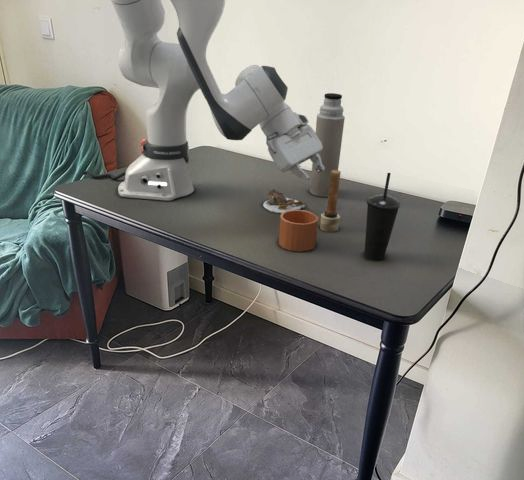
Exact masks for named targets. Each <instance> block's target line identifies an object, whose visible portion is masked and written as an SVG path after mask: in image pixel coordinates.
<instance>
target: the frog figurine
mask: <svg viewBox="0 0 524 480" xmlns="http://www.w3.org/2000/svg"><path fill="white" fill-rule="evenodd" d="M266 193H267V194H266V196H268V197H271V198H270V199H267V200H265V201H264V202H263V203H262V206H263V208H265V209H266V210H268V211H270V212H271V213H275V214H282V213H283V212H285V211H289V210H302V209H304V208H306V204H305V202H304V201H303V200H297V199H294V198H290V197H286V196H285V194H284V193H283V192H280V191H276V189H275V188H272V189H271V190H270V189H269V190H267V191H266Z"/></svg>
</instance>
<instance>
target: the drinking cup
mask: <svg viewBox="0 0 524 480" xmlns="http://www.w3.org/2000/svg"><path fill="white" fill-rule="evenodd" d="M386 174H387V175H386V180H385V184H384V185H385V186H384V191H383V194H376V195H372V196H369V197H368V198H367V199H366V204H367V207H366V208H367V210H366V225H365V238H364V253H363V255H364V256H363V257H365V258H366V259H367V260H371V261H382V260H384V259H385V255H386V253H387V249H388V247H389V242H390V239H391V235H392V232H393V229H394V226H395V222H396V219H397V215H398V211H399V209H400V207H401V205H402V202H401V201H400V200H399V199H397V198H395V197H394V196H391V195H388V190H389V184H390V179H391V174H392V173H391V172H387V173H386Z"/></svg>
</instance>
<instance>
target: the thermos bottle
mask: <svg viewBox="0 0 524 480" xmlns="http://www.w3.org/2000/svg"><path fill="white" fill-rule="evenodd" d="M323 97H324V99H323V104H322V105H320V108H319V110H318V111H319V113H317V115H316V123H315V131H314V132H315V133H316V135H317V136H318V138H319V140H320V141H321V143H322V147H323V149H322V150H321V151H320V152H319V153H318V154H319V156H320V158H321V162H322V164H323V166H324V167H325V169H324V170H323V171H322V172H321V173H317V171H316V170H315V168H316V167H315V165H314V163H313V162H312V161H311V173H310V174H311V175H310V184H309V193H310V194H311V195H313V196H315V197H321V198H328V195H329V186H330V178H331V171H333V170H338V171H339V166H340V157H341V151H342V143H343V134H344V126H345V118H346V117H345V115H344V107H343V106H342V105H341V104H342V99H343V95H342V94H340V93H334V92H331V93H330V92H328V93H325V94H324V96H323Z"/></svg>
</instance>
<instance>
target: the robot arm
mask: <svg viewBox="0 0 524 480" xmlns="http://www.w3.org/2000/svg"><path fill="white" fill-rule="evenodd" d="M110 1H111V4H112V6H113V8H114V11H115V13H116V15H117V17H118V20H119V22H120V23H119V24H120V26H121V28H122V31H123V37H124V42H123V44H122V45H121V47H120V50H119V52H118V60H117V61H118V67H119V71H120V72H121V74H122V76H123V78H124V79H126V80H127V81H130V82H131V83H133V84H137V85H138V86H140V87H141V86H142V87H149V88H156V89H159V94H158V100H157V102H155V103H154V104H152V105H151V106H150V107H149V108H148V109H147V111H146V113H145V124H146V134H147V135H146V136H147V139H146V138H143V139H142V140H141V141H140V150H141V155H140V156H139V157H137V158H136V159H135V160H134V161H133V162H132V163H130V164H129V165H127V166H126V170H125V171H123V172H121V173H119V174H117V175H114V174H112V173H103V174H94V173H92V172H91V171H90V170H84V171H83V172H82V173H81V174H82V176H86V175H89V177H92V178H94V179H103V178H111V180H118V179H120V178H122V177H124V180H123V181H122V182H120V183H119V185H118V188H117V191H118V192H117V193H118V196H120V197H121V198H131V199H142V200H155V201H165V202H166V201H167V202H168V201H169V202H170V201H173V200H175V199H178V198H182V197H187V196H188V195H190V194H191V195H192V193H193V192H194V191H195V188H194V184H193V181H192V177H191V172H190V166H189V161H190V146H189V142H188V140H187V114H188V109H189V105H190V102H191V100H192V98H193V96H194V95H195V94H196V93H197V92H198V91H199V90H200V91H201V93H202V95H203V97H204V99H205V100H206V103H207V104H208V107H209V109H210V113H211V116H212V119H213V122H214V124H215V127H216V128H217V130H218V131H219V133H220V134H221V135H222V136H223V137H224V138H225V139H226V140H229V141H242V140H244V139H245V138H246V137H247V136H248V135H249V134H250V133H251V132H252V131H253V129H255V128H256V127H257V126H258V125H259V128H260V130H261V131H262V133H263V134H264V136H265V137H266V138H265V139H266V140H265V141H266V142H265V144H266V146H267V151H268V153H269V155H270V157H271V159H272V161H273V162H274V164H275V166H276V168H277V169H278V170H279V171H280V172H281V173H283V174H285V173H286V172H288V171H291V173H292V174H293V175H295V176H296V177H298V178H299V180H300V181H301V183H306V182H308V181H309V180H311V175H309V174H308V172H307V171H304V170H303V169H302V167H301V164H302V163H305V162H306V161H308V160H310V161H311V163H312V162H313V163H314V165H315V167H316V168H315V170H316V171H317V173H321V172H322V171H323V170H324V169H325V167H324V166H323V164H322V162H321V158H320V156H319V154H318V153H319V152H320V151H321V150H322V149H323V147H322V143H321V141H320V140H319V138H318V136H317V135H316V133H315V132H316V131H315V130H314V128H313V127H312V126H311V125H309V123H310V121H309V119H308V117H307V116H306V115H304V114H300V113H297V112H295V111H293V109H292V108H291V106H290V105H289V104H287V102H285V101H286V100H287V95H288V89H289V88H288V86H287V84H286V83H285V82H284V80H283V79H282V78H281V76H280V75H279V74H278V72H277V69H276V67H273V66H269V65H261V66H259V65H258V64H251V65H248V66H247V67H245V68H244V69H243V70H241V72H239V74H238V76H237V77H236V79H235V82H234V85H235V86H234V87H233V88H232V89H231V90H230V91H228V92H227V93H222V91H221V89H220V87H219V85H218V83H217V80H216V78H215V77H214V74H213V72H212V70H211V68H210V65H209V63H208V61H207V48H208V45H209V42H210V40H211V38H212V36H213V35H214V32H215V30H216V29H217V26H218V24H219V22H220V21H221V18H222V16H223V13H224V9H225V5H226V0H169V1H170V2H171V4H172V6H173V8H174V10H175V12H176V17H177V20H178V29H177V31H176V37H177V41H178V43H174V42H167V41H166V42H165V41H162V40H161V39H160V37H159V36H158V33H159V32H160V31H161V30H162V29H163V26H164V24H165V20H166V11H165V9H164V5H163V3H162V0H110Z"/></svg>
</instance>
